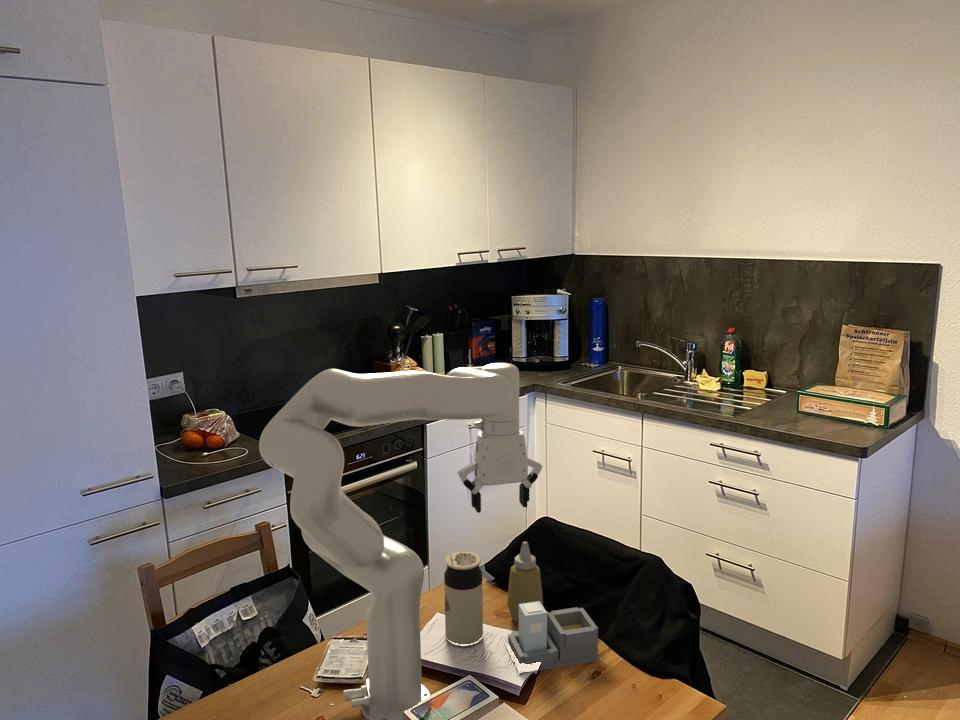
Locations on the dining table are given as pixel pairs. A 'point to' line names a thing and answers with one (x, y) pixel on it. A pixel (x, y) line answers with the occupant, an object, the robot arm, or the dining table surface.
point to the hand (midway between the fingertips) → (500, 507)
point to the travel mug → (463, 598)
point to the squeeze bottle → (524, 582)
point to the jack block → (563, 640)
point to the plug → (532, 627)
